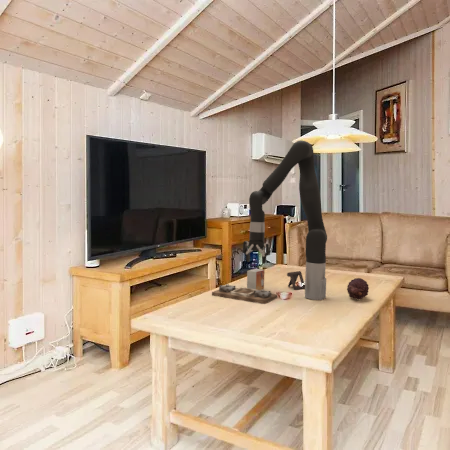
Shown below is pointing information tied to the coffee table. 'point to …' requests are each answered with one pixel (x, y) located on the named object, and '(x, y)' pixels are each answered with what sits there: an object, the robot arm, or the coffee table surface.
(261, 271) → the small box
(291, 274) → the portable electronic device stand
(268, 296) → the gear board
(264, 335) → the coffee table surface
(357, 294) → the pine cone
